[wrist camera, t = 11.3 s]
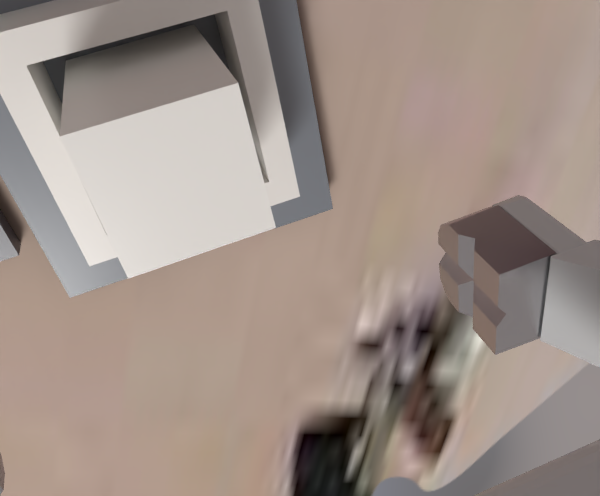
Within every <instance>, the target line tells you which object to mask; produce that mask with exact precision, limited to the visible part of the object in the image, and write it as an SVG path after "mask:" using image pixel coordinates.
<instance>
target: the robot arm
mask: <svg viewBox="0 0 600 496" xmlns="http://www.w3.org/2000/svg"><path fill="white" fill-rule="evenodd" d="M438 243H439V245H440V246H441V247H442V248H443V249H444V251H445V252H446V253H445V255H444V256H443V258H442V260H441V261H440V263H439V268H440V279H441V282H442V285H443V288H444V291H445V293H446V295H447V296H448V298H449V300H450V302H451V303H452V304H453V306H454V307H455V308H456V309H457V310H458V312H460V313H463V314H466V315H469V316H472V317H473V329H474V331H475V332H476V333H477V334H478V335H479V336H480V338H481V339H482V340H483V341H484V342H485V343H486V345H487V346H488V347H489V348H490V349H491V350H492V352H493V353H494V354H495V355H496V354H499V353H501V352H504V351H507V350H509V349H512V348H515V347H517V346H520V345H523V344H525V343H528V342H531V341H533V340H536V339H539V338H540V341H543V342H545V343H547V344H549V345H551V346H554V347H556V348H558V349H560V350H562V351H565V352H567V353H569V354H571V355H573V356H575V357H578V358H580V359H582V360H584V361H586V362H589V363H591V364H593V365H595V366H597V367H600V241H599V240H593V241H590V242H585V241H584V240H583V239H581V238H580V237H579V236H577V235H576V234H575V233H573V232H572V231H571V230H569V229H568V228H567V227H565V226H564V225H563V224H561V223H560V222H559V221H557V220H556V219H555V218H553V217H552V216H551V215H549V214H548V213H547V212H545V211H544V210H543V209H541V208H540V207H539V206H537V205H536V204H535V203H533V202H532V201H531V200H529V199H528V198H527V197H524V196H520V195H518V196H515V197H512V198H510V199H507V200H505V201H502V202H499V203H497V204H494V205H493V206H492V207H488V208H485V209H482V210H480V211H477V212H474V213H472V214H469V215H466V216H464V217H461V218H458V219H455V220H453V221H450V222H447V223H445V224H442V225H441V226H440V229H439V232H438ZM4 477H5V472H4V467H3V461H2V456H1V453H0V494H1V493H2V491H3V490H4ZM474 496H600V439H599V440H597V441H595V442H593V443H590V444H588V445H586V446H584V447H582V448H579V449H577V450H575V451H572V452H570V453H568V454H566V455H564V456H561V457H559V458H557V459H555V460H553V461H550V462H548V463H546V464H543V465H541V466H539V467H537V468H534V469H532V470H530V471H528V472H526V473H523V474H521V475H519V476H517V477H514V478H512V479H510V480H508V481H506V482H503V483H501V484H499V485H496V486H494V487H492V488H490V489H487V490H485V491H483V492H481V493H478V494H476V495H474Z"/></svg>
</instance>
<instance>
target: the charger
mask: <svg viewBox="0 0 600 496" xmlns="http://www.w3.org/2000/svg"><path fill="white" fill-rule="evenodd" d="M60 138H61V140H62V142H63V145H64V147H65V149H66V151H67V153H68V155H69V157H70V159H71V161H72V163H73V165H74V167H75V169H76V172H77V174H78V176H79V178H80V180H81V182H82V184H83V186H84V188H85V190H86V192H87V194H88V196H89V198H90V201H91V203H92V205H93V207H94V209H95V211H96V213H97V215H98V217H99V219H100V221H101V223H102V225H103V228H104V230H105V232H106V234H107V236H108V238H109V240H110V242H111V244H112V246H113V248H114V250H115V252H116V255H117V257H118V259H119V261H120V263H121V265H122V267H123V269H124V271H125V273H126V275H127V277H128V278H131V277H134V276H137V275H140V274H143V273H146V272H149V271H152V270H155V269H158V268H160V267H163V266H166V265H169V264H172V263H175V262H178V261H181V260H184V259H187V258H190V257H192V256H195V255H198V254H201V253H204V252H207V251H210V250H213V249H216V248H219V247H221V246H224V245H227V244H230V243H233V242H236V241H239V240H242V239H245V238H248V237H251V236H253V235H256V234H259V233H262V232H265V231H268V230H271V229H274V228H276V226H275V222H274V218H273V214H272V211H271V207H270V203H269V199H268V195H267V191H266V188H265V184H264V180H263V176H262V172H261V168H260V164H259V161H258V157H257V153H256V149H255V145H254V141H253V138H252V134H251V130H250V126H249V122H248V118H247V114H246V111H245V107H244V103H243V99H242V95H241V91H240V88H239V84H238V82H237V80H236V79H235V78H234V76H233V75H232V74H231V73H230V71H229V70H228V69H227V67H226V66H225V65H224V63H223V62H222V61H221V59H220V58H219V57H218V55H217V54H216V53H215V52H214V50H213V49H212V48H211V46H210V45H209V44H208V42H207V41H206V40H205V38H204V37H203V36H202V34H201V33H200V32H199V30H198V29H197V28H196V27H195V25H190V26H187V27H183V28H180V29H176V30H172V31H169V32H165V33H162V34H158V35H155V36H151V37H148V38H144V39H141V40H137V41H133V42H130V43H126V44H123V45H119V46H116V47H112V48H109V49H105V50H102V51H98V52H94V53H91V54H87V55H84V56H80V57H77V58H73V59H70V60H66V65H65V77H64V89H63V101H62V114H61V126H60Z"/></svg>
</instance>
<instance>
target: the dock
mask: <svg viewBox="0 0 600 496" xmlns="http://www.w3.org/2000/svg"><path fill="white" fill-rule="evenodd" d="M190 25H195V27H196V28H197V29H198V30H199V32H200V33H201V34H202V36H203V37H204V38H205V40H206V41H207V42H208V44H209V45H210V46H211V48H212V49H213V50H214V52H215V53H216V54H217V55H218V57H219V58H220V59H221V61H222V62H223V63H224V65H225V66H226V67H227V69H228V70H229V71H230V73H231V74H232V75H233V76H234V78H235V79H236V80H237V82H238V84H239V88H240V91H241V95H242V99H243V103H244V107H245V111H246V114H247V118H248V122H249V126H250V130H251V134H252V138H253V141H254V145H255V149H256V153H257V157H258V161H259V164H260V168H261V172H262V176H263V180H264V184H265V188H266V191H267V195H268V199H269V203H270V207H271V211H272V214H273V218H274V222H275V226H276V228H277V227H280V226H283V225H286V224H289V223H292V222H295V221H298V220H301V219H304V218H307V217H310V216H313V215H316V214H319V213H322V212H325V211H328V210H330V209H333V207H332V201H331V196H330V190H329V184H328V179H327V173H326V167H325V161H324V156H323V150H322V144H321V139H320V133H319V127H318V122H317V116H316V110H315V104H314V99H313V93H312V87H311V82H310V76H309V70H308V64H307V59H306V53H305V47H304V42H303V36H302V30H301V25H300V19H299V13H298V7H297V2H296V0H0V175H1V177H2V179H3V180H4V182H5V184H6V186H7V188H8V189H9V191H10V193H11V195H12V196H13V198H14V200H15V202H16V203H17V205H18V207H19V209H20V210H21V212H22V214H23V216H24V217H25V219H26V221H27V223H28V225H29V226H30V228H31V230H32V232H33V233H34V235H35V237H36V239H37V240H38V242H39V244H40V246H41V247H42V249H43V251H44V253H45V255H46V256H47V258H48V260H49V262H50V263H51V265H52V267H53V269H54V270H55V272H56V274H57V276H58V277H59V279H60V281H61V283H62V284H63V286H64V288H65V290H66V292H67V293H68V295H69V297H73V296H76V295H79V294H82V293H85V292H88V291H91V290H94V289H97V288H100V287H103V286H106V285H109V284H112V283H115V282H118V281H121V280H124V279H127V278H128V277H127V275H126V273H125V271H124V269H123V267H122V265H121V263H120V261H119V259H118V257H117V255H116V252H115V250H114V248H113V246H112V244H111V242H110V240H109V238H108V236H107V234H106V232H105V230H104V228H103V225H102V223H101V221H100V219H99V217H98V215H97V213H96V211H95V209H94V207H93V205H92V203H91V201H90V198H89V196H88V194H87V192H86V190H85V188H84V186H83V184H82V182H81V180H80V178H79V176H78V174H77V172H76V169H75V167H74V165H73V163H72V161H71V159H70V157H69V155H68V153H67V151H66V149H65V147H64V145H63V142H62V140H61V138H60V126H61V114H62V101H63V89H64V77H65V65H66V60H70V59H73V58H77V57H80V56H84V55H87V54H91V53H94V52H98V51H102V50H105V49H109V48H112V47H116V46H119V45H123V44H126V43H130V42H133V41H137V40H141V39H144V38H148V37H151V36H155V35H158V34H162V33H165V32H169V31H172V30H176V29H180V28H183V27H187V26H190ZM262 233H263V232H262ZM259 234H260V233H259ZM256 235H257V234H256ZM253 236H254V235H253Z"/></svg>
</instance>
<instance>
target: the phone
mask: <svg viewBox="0 0 600 496" xmlns="http://www.w3.org/2000/svg"><path fill="white" fill-rule="evenodd" d="M20 245H21V243H20V242H19V240H18V238H17V236H16V235H15V233H14V231H13V230H12V228H11V226H10V225H9V223H8V221H7V220H6V218H5V216H4V215H3V213H2V211H1V209H0V261H3V260H6V259H9V258H12V257H15V256H18V255H19V251H20Z"/></svg>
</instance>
